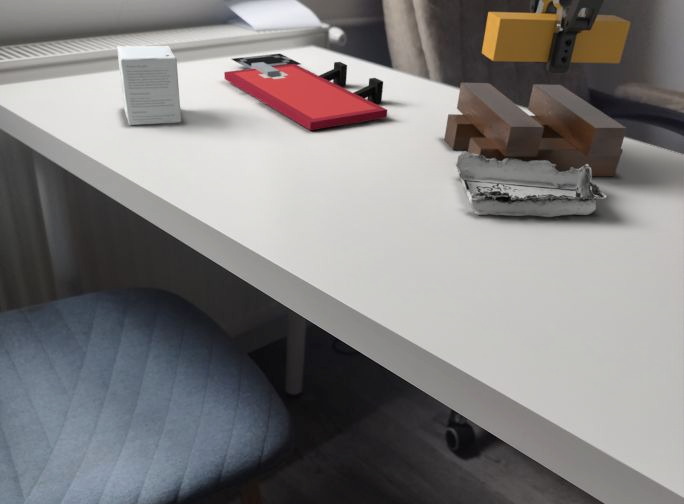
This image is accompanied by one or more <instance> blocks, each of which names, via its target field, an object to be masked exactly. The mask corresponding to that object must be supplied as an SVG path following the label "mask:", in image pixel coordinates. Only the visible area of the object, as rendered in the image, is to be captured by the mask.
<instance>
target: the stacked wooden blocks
mask: <svg viewBox="0 0 684 504" xmlns="http://www.w3.org/2000/svg"><path fill="white" fill-rule="evenodd" d="M456 105H457V106H456V110H458V112H460V113H461V114H459V113H458V114H457V113H455V114H453V113H452V114H450V113H449V114H448V115H447V119H446V126H445V133H444V141H445V142H446V143H447V144H448V146H449V147H450V149H452V151H467V152H468V153H471V154H472V153H474V154H478V155H482V156H484V157H485V158H487V159H492V158H496V159H497V161H503V160H504V159H506V158H516V159H518V160H519V159H521V160H522V161H526V162H529V161H531V160H534V161H535V160H548V161H549V162H551V163H552V164H556V167H555V169H557V170H558V171H559V172H565V171H569V169H570V168H571V167H574V168H576V169H579V168H581V167H583V166H584V165H586V164H588V165H589V167H591V171H592V177H615V176H616V173H617V170H618V166H619V163H620V159H621V157H622V153H623V148H622V145H623V143H624V139H625V136H626V133H627V130H628V128H627V127H626V126H625V125H622V124H621V123H619V122H618V121H617V120H615V119H613V118H612V117H611V116H609V115H607V114H605V113H604V112H602V110H600V109H598V108H596V107H595V106H593V105H592V104H591V103H590V102H587V101H586V100H584V99H583V98H581V97H579V96H578V95H577V94H575V93H573V92H572V91H570V90H569V89H568V88H566V87H565V86H563V85H562V84H543V83H542V84H538V83H537V84H536V83H535V84H533V85H532V89H531V93H530V98H529V102H528V106H527V110H528V111H529V112H530V113H531V114H533V115H530V114H528V113H527V112H526V111H524V110H523V109H522V108H521V107H519V106H518V105H517V104H516V103H515V102H514V101H512V100H511V99H509V98H508V97H507V96H506V95H505V94H503V93H502V92H501V91H499V90H498V89H497V88H496V87H495V86H493V85H492V84H491V83H488V82H460V87H459V92H458V99H457V104H456Z"/></svg>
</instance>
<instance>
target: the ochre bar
mask: <svg viewBox="0 0 684 504" xmlns="http://www.w3.org/2000/svg"><path fill="white" fill-rule="evenodd" d="M566 16H567V13H566ZM585 16H586V14H585ZM555 21H556V14H548V13H530V12H512V11H511V12H509V11H508V12H507V11H488V12H487V18H486V24H485V31H484V37H483V42H482V49H481V54H482V55H484V56H485V57H486V58H488V59H489V60H490V61H493V62H508V63H510V62H511V63H512V62H515V63H517V62H518V63H519V62H521V63H535V62H547V61H548V57H549V52H550V47H551V43H552V38H553V34H554V33H555ZM630 26H631V21H629V20H627V19H624V18H622V17H619V16H617V15H614V14H613V15H612V14H611V15H610V14H598V15H597V17H596V20H595V22H594V24H593V26H592V28H591V30H589V31H588V30H584V31H582V32H581V33H580V34H577V36H576V40H575V45H574V49H573V53H572V57H571V62H570V64H571V63H572V64H573V63H575V64H576V63H580V64H620V63H621V59H622V56H623V51H624V49H625V45H626V40H627V37H628V34H629V30H630Z"/></svg>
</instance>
